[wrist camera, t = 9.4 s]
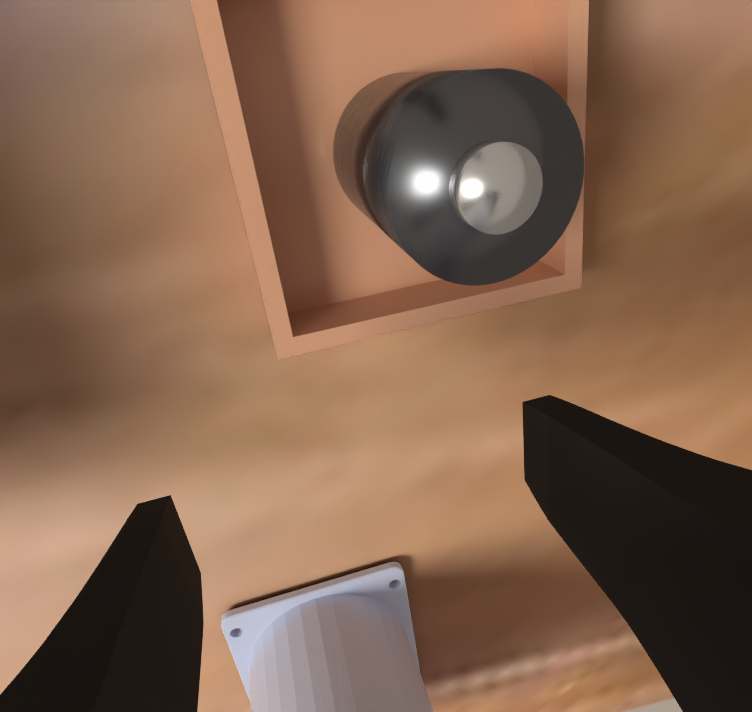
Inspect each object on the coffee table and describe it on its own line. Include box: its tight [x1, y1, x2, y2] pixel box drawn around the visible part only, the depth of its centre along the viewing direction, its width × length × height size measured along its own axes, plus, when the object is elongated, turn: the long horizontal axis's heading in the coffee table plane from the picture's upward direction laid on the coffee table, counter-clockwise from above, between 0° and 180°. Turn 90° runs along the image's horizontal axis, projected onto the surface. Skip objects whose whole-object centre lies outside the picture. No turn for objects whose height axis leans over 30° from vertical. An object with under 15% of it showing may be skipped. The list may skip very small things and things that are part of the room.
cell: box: [333, 68, 584, 286], centre depth 15 cm, size 4×4×7 cm
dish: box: [190, 0, 589, 359], centre depth 17 cm, size 10×10×2 cm
